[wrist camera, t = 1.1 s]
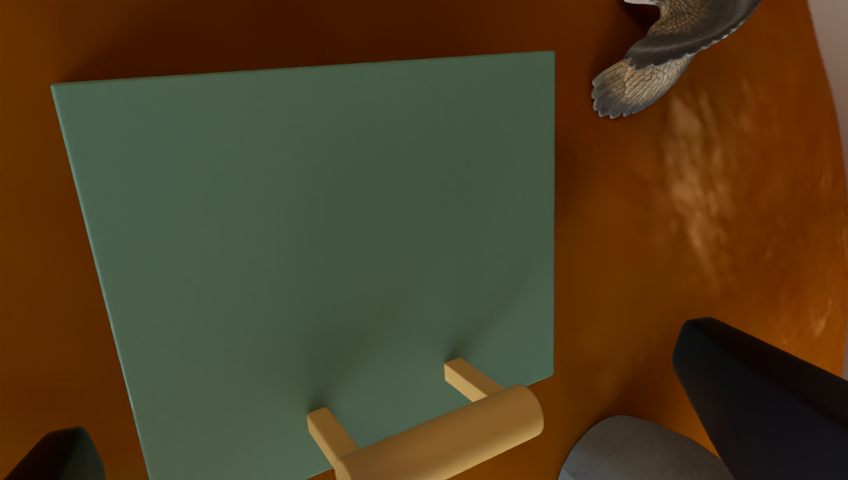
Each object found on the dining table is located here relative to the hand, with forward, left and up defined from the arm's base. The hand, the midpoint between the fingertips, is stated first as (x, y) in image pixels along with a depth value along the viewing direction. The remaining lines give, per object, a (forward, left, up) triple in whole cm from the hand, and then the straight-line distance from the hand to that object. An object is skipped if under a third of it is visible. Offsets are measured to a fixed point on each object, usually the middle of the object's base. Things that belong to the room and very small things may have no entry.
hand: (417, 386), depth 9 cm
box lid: (-2, -3, -9) cm, 10 cm away
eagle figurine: (+6, -20, -14) cm, 25 cm away
